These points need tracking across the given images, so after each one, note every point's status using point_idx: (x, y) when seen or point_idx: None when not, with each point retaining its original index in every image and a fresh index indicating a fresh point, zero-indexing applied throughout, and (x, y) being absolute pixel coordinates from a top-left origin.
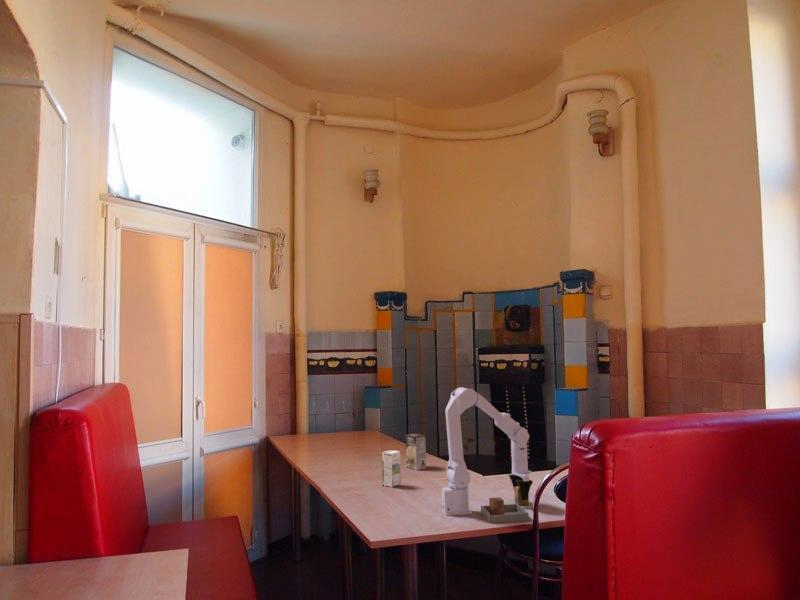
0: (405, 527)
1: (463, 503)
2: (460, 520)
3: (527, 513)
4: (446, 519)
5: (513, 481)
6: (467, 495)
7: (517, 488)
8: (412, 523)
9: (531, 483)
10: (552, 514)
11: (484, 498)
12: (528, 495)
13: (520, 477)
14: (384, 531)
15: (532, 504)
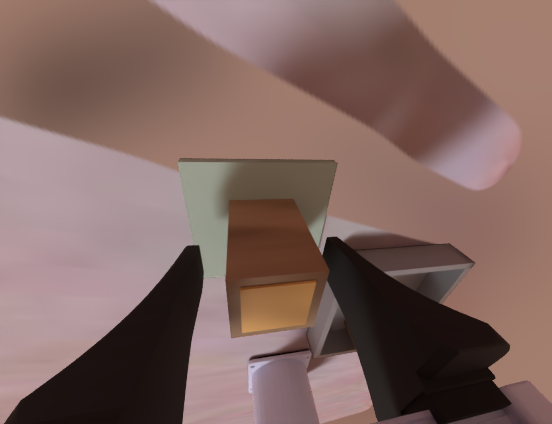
0: (337, 401)
1: (312, 395)
2: (341, 360)
3: (473, 264)
4: (322, 375)
5: (184, 380)
6: (310, 420)
7: (294, 326)
8: (321, 400)
9: (477, 324)
10: (457, 120)
11: (104, 329)
12: (310, 233)
13: (154, 399)
14: (341, 410)
15: (280, 174)
